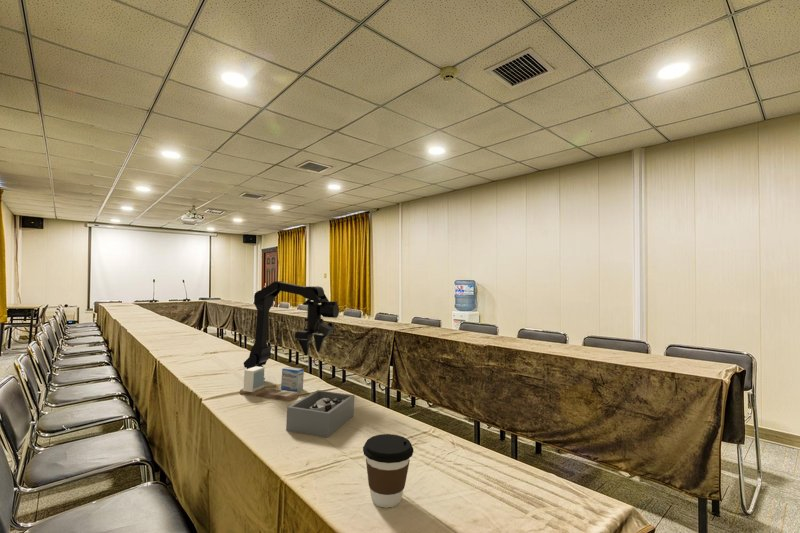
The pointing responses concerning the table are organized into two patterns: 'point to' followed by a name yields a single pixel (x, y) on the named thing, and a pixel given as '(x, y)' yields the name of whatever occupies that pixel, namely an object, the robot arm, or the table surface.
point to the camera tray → (319, 414)
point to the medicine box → (292, 379)
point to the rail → (272, 394)
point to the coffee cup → (387, 467)
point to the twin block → (253, 378)
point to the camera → (326, 404)
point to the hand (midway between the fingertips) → (312, 353)
